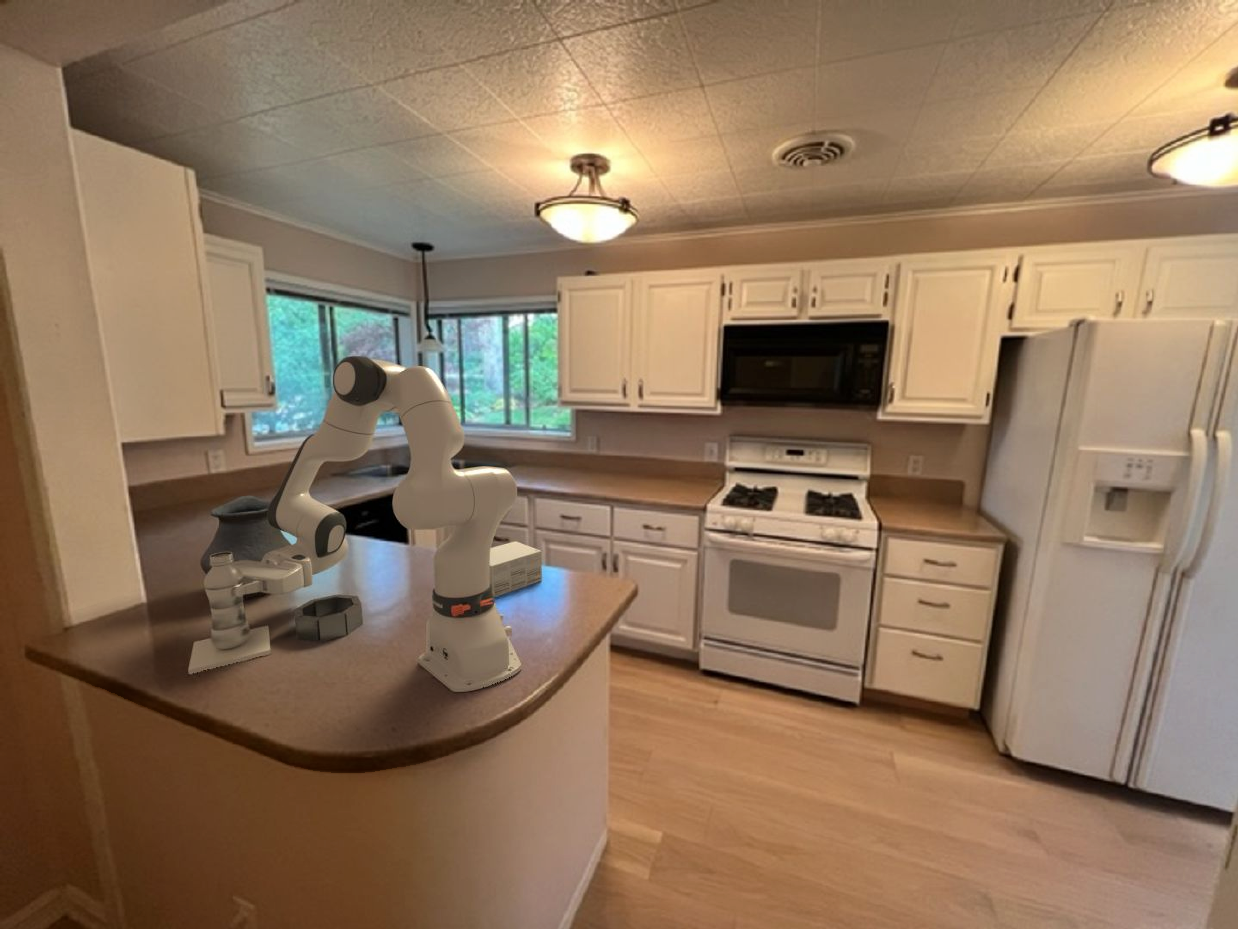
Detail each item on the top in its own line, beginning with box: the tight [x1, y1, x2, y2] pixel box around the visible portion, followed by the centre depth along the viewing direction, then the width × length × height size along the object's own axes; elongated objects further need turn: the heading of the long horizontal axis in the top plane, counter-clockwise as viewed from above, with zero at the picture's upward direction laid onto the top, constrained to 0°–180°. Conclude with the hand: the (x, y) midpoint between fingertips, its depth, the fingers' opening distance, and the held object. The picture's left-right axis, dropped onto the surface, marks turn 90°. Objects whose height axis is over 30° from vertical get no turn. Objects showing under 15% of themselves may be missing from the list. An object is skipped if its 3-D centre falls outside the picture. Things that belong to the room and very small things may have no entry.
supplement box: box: [490, 540, 543, 598], centre depth 143 cm, size 17×13×9 cm
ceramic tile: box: [187, 625, 272, 675], centre depth 105 cm, size 13×13×1 cm
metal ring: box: [293, 594, 364, 643], centre depth 116 cm, size 13×13×5 cm
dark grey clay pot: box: [199, 495, 292, 600], centre depth 134 cm, size 21×22×25 cm
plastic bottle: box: [203, 552, 251, 650], centre depth 104 cm, size 6×7×20 cm
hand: (220, 590), depth 102 cm, fingers closed on plastic bottle, 6 cm apart
